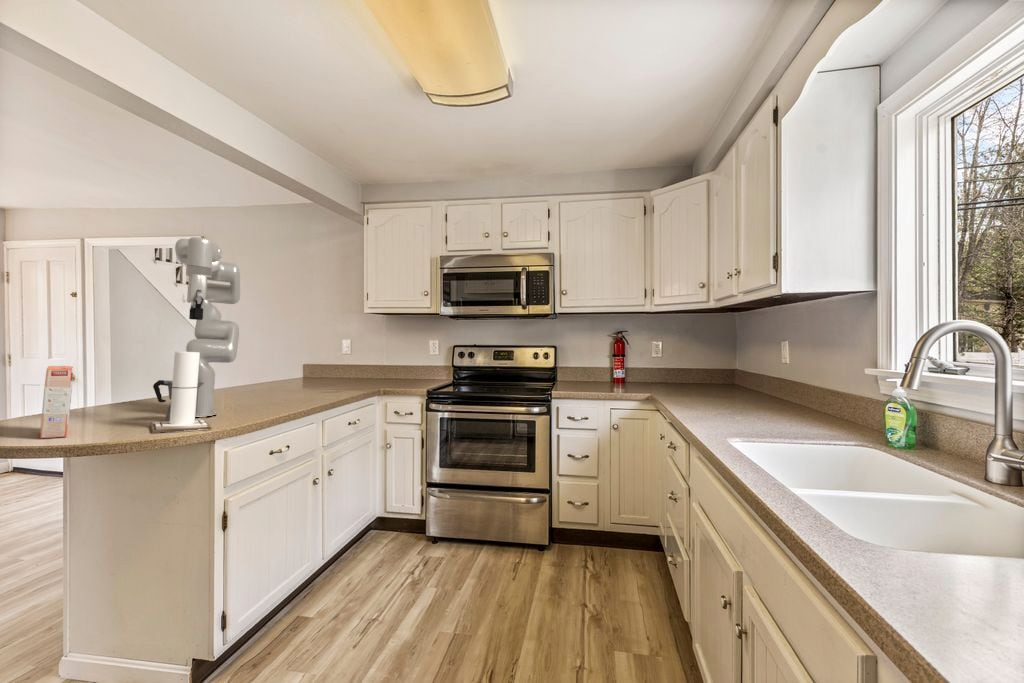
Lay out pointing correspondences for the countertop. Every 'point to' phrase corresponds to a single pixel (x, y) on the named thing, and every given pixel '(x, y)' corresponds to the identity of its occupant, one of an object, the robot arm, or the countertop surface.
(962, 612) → the countertop surface
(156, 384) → the coffeepot
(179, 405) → the cylindrical container
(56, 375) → the cracker box
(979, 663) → the countertop surface
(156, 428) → the notepad
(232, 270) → the robot arm
